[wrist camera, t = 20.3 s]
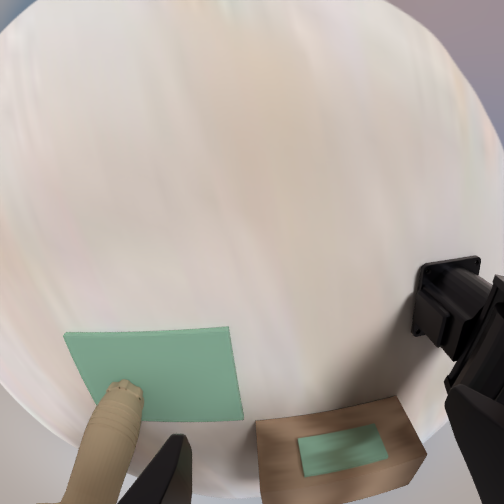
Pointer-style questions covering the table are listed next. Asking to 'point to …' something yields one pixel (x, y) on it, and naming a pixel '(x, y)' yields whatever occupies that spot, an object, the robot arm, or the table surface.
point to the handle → (106, 447)
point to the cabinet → (337, 454)
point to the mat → (164, 371)
